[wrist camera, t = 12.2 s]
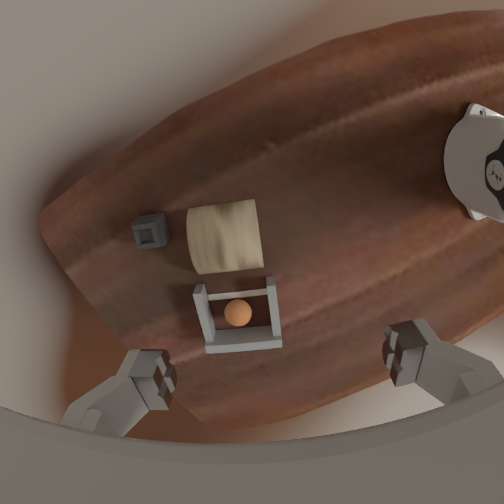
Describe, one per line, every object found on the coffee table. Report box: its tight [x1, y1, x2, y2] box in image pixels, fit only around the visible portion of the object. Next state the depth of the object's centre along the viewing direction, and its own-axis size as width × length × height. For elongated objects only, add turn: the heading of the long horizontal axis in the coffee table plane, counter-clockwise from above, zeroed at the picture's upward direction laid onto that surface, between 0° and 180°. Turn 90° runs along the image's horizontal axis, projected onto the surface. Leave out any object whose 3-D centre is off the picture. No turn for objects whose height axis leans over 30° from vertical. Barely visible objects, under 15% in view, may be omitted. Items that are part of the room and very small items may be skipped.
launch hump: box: [186, 199, 264, 275], centre depth 43 cm, size 9×10×10 cm
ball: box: [224, 299, 252, 326], centre depth 44 cm, size 4×4×4 cm
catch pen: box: [193, 276, 282, 353], centre depth 44 cm, size 12×10×4 cm
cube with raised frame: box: [131, 212, 171, 250], centre depth 40 cm, size 4×4×4 cm
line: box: [208, 288, 268, 301], centre depth 45 cm, size 9×1×1 cm, turn 98°
